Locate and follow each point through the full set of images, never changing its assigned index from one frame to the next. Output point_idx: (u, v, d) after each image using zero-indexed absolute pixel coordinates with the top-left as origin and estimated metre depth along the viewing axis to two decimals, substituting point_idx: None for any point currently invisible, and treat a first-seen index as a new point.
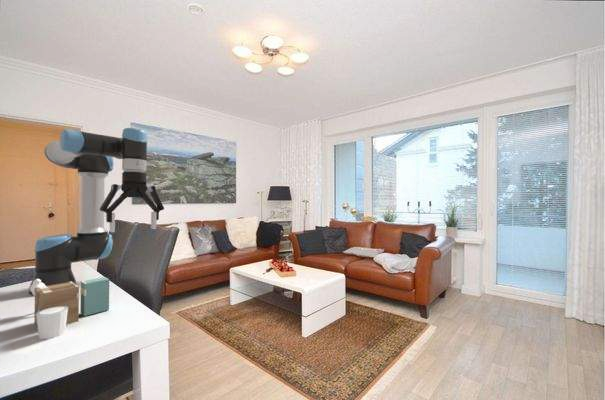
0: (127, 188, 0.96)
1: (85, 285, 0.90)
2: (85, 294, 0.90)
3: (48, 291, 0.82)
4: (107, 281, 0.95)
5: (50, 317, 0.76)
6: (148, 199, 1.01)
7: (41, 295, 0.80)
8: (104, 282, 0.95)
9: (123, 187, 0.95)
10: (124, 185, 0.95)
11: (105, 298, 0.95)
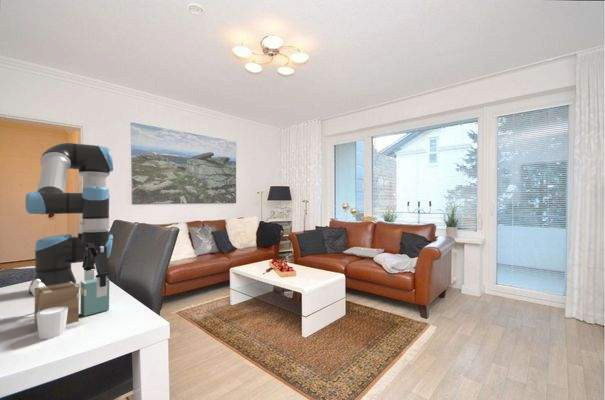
0: (89, 248, 0.95)
1: (85, 285, 0.90)
2: (85, 294, 0.90)
3: (48, 291, 0.82)
4: (107, 281, 0.95)
5: (50, 317, 0.76)
6: (95, 261, 0.91)
7: (41, 295, 0.80)
8: None
9: None
10: (88, 245, 0.96)
11: (105, 298, 0.95)
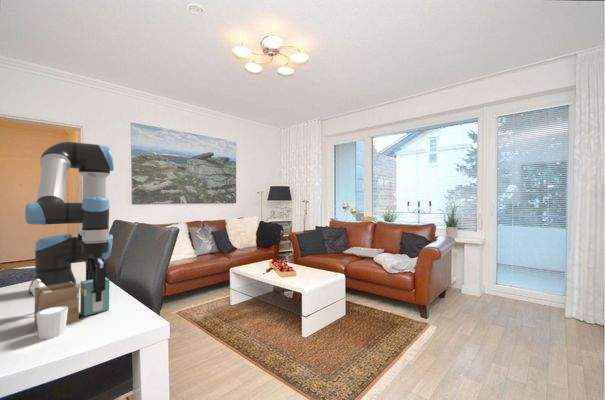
0: (89, 258, 0.95)
1: (85, 285, 0.90)
2: (85, 294, 0.90)
3: (48, 291, 0.82)
4: (107, 281, 0.95)
5: (50, 317, 0.76)
6: (93, 275, 0.92)
7: (41, 295, 0.80)
8: None
9: None
10: (88, 256, 0.96)
11: (105, 298, 0.95)
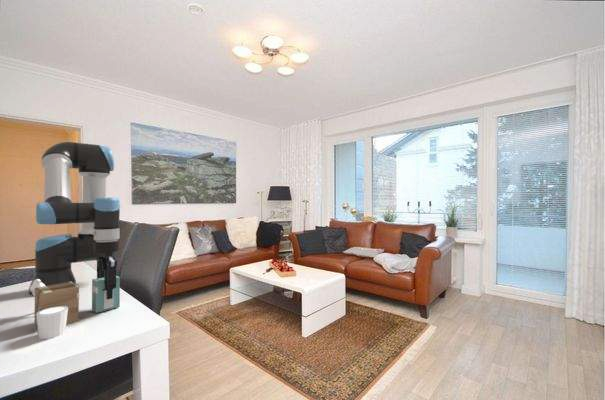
0: (100, 256, 0.98)
1: (97, 283, 0.93)
2: (97, 291, 0.93)
3: (48, 291, 0.82)
4: (118, 279, 0.98)
5: (50, 317, 0.76)
6: (104, 273, 0.95)
7: (41, 295, 0.80)
8: None
9: None
10: (99, 254, 0.99)
11: (116, 295, 0.97)
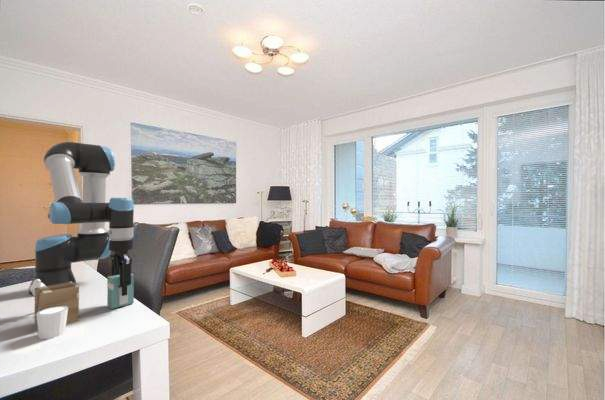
0: (115, 254, 1.01)
1: (112, 280, 0.97)
2: (112, 288, 0.97)
3: (48, 291, 0.82)
4: (132, 276, 1.02)
5: (50, 317, 0.76)
6: (119, 270, 0.98)
7: (41, 295, 0.80)
8: None
9: (114, 255, 1.02)
10: (114, 252, 1.02)
11: (130, 292, 1.01)
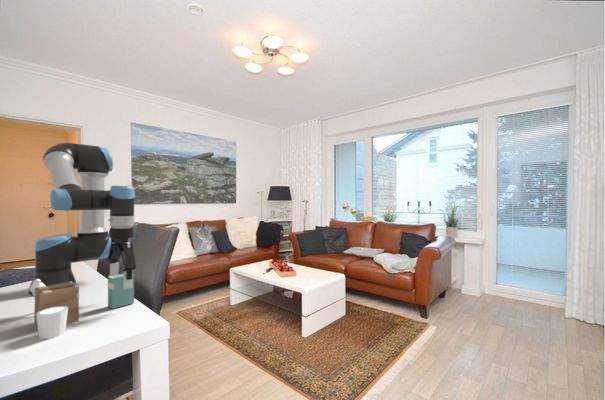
0: None
1: (113, 280, 0.97)
2: (113, 288, 0.97)
3: (48, 291, 0.82)
4: None
5: (50, 317, 0.76)
6: (122, 256, 0.97)
7: (41, 295, 0.80)
8: None
9: None
10: (115, 240, 1.02)
11: (131, 292, 1.01)
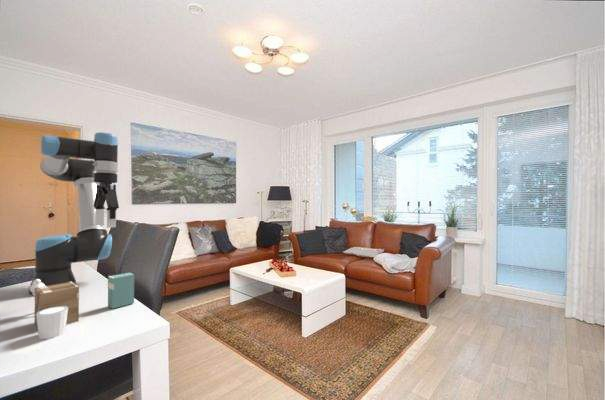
0: None
1: (113, 280, 0.97)
2: (113, 288, 0.97)
3: (48, 291, 0.82)
4: (132, 276, 1.02)
5: (50, 317, 0.76)
6: (106, 197, 1.04)
7: (41, 295, 0.80)
8: (129, 277, 1.01)
9: None
10: (99, 185, 1.09)
11: (131, 292, 1.01)
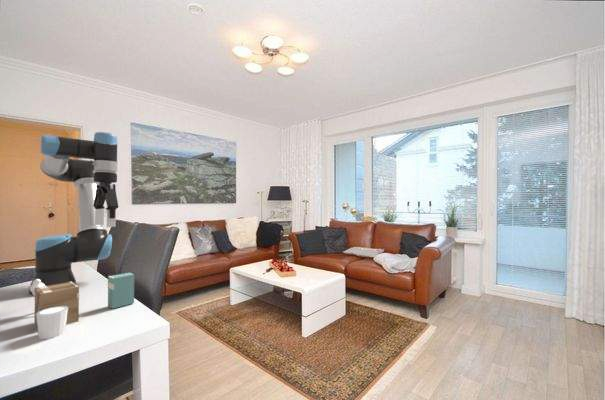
0: None
1: (113, 280, 0.97)
2: (113, 288, 0.97)
3: (48, 291, 0.82)
4: (132, 276, 1.02)
5: (50, 317, 0.76)
6: (105, 197, 1.04)
7: (41, 295, 0.80)
8: (129, 277, 1.01)
9: None
10: (99, 185, 1.09)
11: (131, 292, 1.01)
